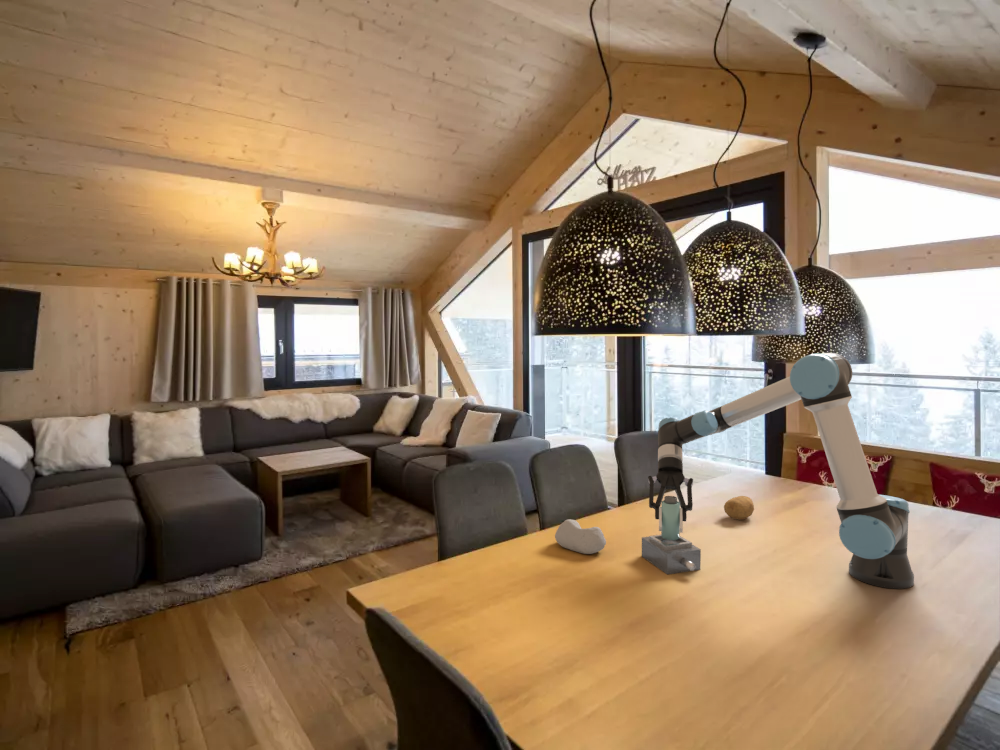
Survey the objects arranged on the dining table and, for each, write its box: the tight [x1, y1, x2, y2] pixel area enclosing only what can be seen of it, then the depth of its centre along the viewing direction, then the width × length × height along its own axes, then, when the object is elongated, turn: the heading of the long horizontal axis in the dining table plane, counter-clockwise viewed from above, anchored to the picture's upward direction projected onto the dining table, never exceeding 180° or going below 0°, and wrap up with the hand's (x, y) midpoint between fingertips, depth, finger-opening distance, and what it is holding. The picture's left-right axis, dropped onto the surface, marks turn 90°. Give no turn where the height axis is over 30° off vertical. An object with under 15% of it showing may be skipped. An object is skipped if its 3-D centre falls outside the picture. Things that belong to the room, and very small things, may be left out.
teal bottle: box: [660, 495, 681, 540], centre depth 170 cm, size 5×5×12 cm
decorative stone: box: [554, 518, 607, 555], centre depth 184 cm, size 17×10×10 cm
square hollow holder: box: [641, 534, 702, 575], centre depth 170 cm, size 20×11×7 cm, turn 16°
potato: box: [723, 495, 755, 520], centre depth 211 cm, size 10×14×8 cm
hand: (670, 529), depth 167 cm, fingers closed on teal bottle, 5 cm apart
